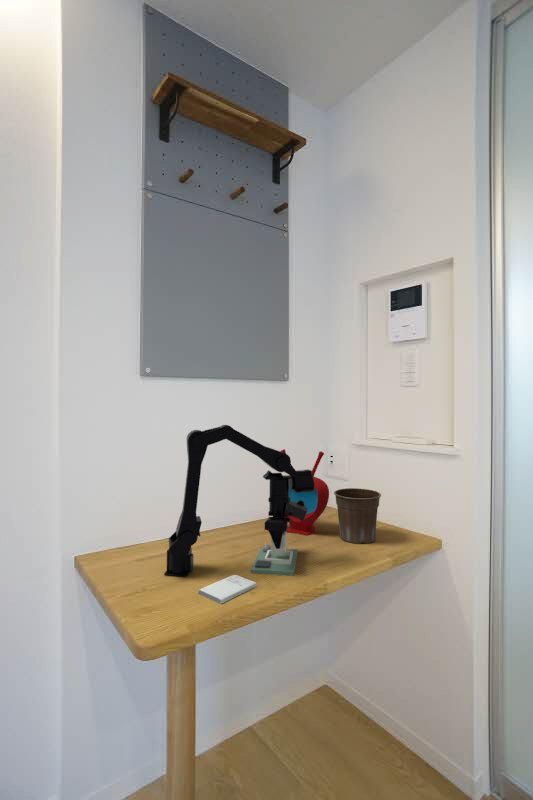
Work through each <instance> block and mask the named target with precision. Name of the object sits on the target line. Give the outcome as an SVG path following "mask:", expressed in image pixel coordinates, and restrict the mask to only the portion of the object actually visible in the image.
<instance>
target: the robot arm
mask: <svg viewBox="0 0 533 800" xmlns="http://www.w3.org/2000/svg"><path fill="white" fill-rule="evenodd" d="M225 440H227V441H229V442H231V443H232V444H235V446H238V447H240V448H242V449H243V450H246V451H247V452H249V453H251V454H252V455H255V456H256V457H258V458H259V459H261V461H262V462H263V463H264V464H266V465H267V467H269V468H271V469H273V470H274V471H276V472H272V471H270V470H267V471H266V473H265V474H263V475H262V479H265V480H266V481H267V480H268V481H269V497H268V503H269V507H268V508H269V509H268V510H269V511H268V515H267V516H268V517H267V518H266V519H265V520H264V521H265V522H264V530H265V531H268V533H269V535H270V538H272V540H273V542H274V545H275V547H276V549H280V545H281V540H282V534H283V532H284V531H287V528H288V527H289V526H288V523H289V521H290V518H286V517H289V516H293V517H295V518H298V519H299V520H301V521H304V519H305V516H306V513H307V510H308V508H307V507H306V506H304V501H302V500H299V501H298V502H292V501H290V497H289V488H290V490H292V491H293V492H294V493H303V492H313V490H314V481H313V476H312V469H301V470H300V469H299V470H296V469H295V468H294V466H293V465H292V464H291V463H292V462H291V461H292V459H291V457H290V455H289V454H287V453H286V454H285V453H283V452H281V450H278V449H277V450H276V449H275V448H272V447H268V446H265V445H263V444H261V443H259V442H258V441H256V440H254V439H252V438H250V436H247V435H245V434H243V433H242V432H240V431H238V430H236V429H235V428H233V427H232V426H230V425H227V424H222V425H221V426H218V427H214V428H209V429H208V428H207V429H206V430H205V429H204V430H201V429H200V430H199V429H194V430H191V431H190V432H189V433H188V434H187V435H186V451H187V452H186V453H187V454H186V455H187V468H186V469H187V470H186V479H185V488H184V497H183V503H182V504H183V505H182V510H181V513H180V516H179V517H178V521H177V523H176V524H177V525H176V528H175V531H174V532H173V534H171V536H169V538H168V549H167V550H166V570H165V572H163V573H164V576H173V577H174V576H176V577H187V576H188V575H189V574H190V573H191V571H193V569H194V553H192V550H193V548H192V546H193V545H194V544H196V543H197V541H198V538H199V537H201V532H200V531H201V527H202V523H203V521H202V519H201V516H199V515H197V509H198V508H197V506H198V498H199V489H200V481H201V480H200V479H201V473H202V472H201V471H202V464H203V461H204V459H205V455H206V453H207V450H208V446H210V445H213V444H217V443H219V442H222V441H225ZM282 473H285V475H283V474H282ZM286 474H287V475H286Z"/></svg>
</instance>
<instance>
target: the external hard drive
mask: <svg viewBox="0 0 533 800" xmlns="http://www.w3.org/2000/svg"><path fill="white" fill-rule="evenodd" d="M252 588H253V589H255V588H257V583H256V582H255V581H252V580H250V579H247V578H246V577H242V576H240V575H237V574H232V575H230V576H228V577H225V578H222V579H220V580H218V581H216V582H214V583H211V584H209V585H206V586H204V587H202V588H200V589H198V590H197V592H198V595H199V594H200V596H202V597H204V598H206V599H209V600H211V601H213V602H215V603H217V604H220V605H222V603H223V604H224V602H225V603H227V602H229V601H231V600H233V599H234V598H237V597H238V595H239V596H240V595H243V594H245V593H246V592H249V591H251V590H253V589H252ZM250 589H251V590H250ZM242 593H243V594H242ZM230 599H231V600H230ZM228 600H229V601H228ZM226 601H227V602H226Z"/></svg>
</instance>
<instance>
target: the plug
mask: <svg viewBox="0 0 533 800" xmlns="http://www.w3.org/2000/svg"><path fill="white" fill-rule="evenodd" d="M270 538H271V537H270ZM270 542H271V545H270V546H271V551H273V552H285V550H286V549H287V532H286V531H284V532H283V534H282V540H281V545H280V549H276V547H275V545H274V542H273V540H272V538H271V540H270Z"/></svg>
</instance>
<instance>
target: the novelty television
mask: <svg viewBox="0 0 533 800" xmlns="http://www.w3.org/2000/svg"><path fill="white" fill-rule="evenodd" d="M280 452H283V453H285V454H287V452H286V449H282V450H280ZM324 455H325V453H324V452H323V451H318V455H317V458H316V460H315V462H314V464H313V467H312V469H311V471H312V476H313V481H314V490H313V492H303V493H294V492H293V491H292V490H290V488H289V497H290V501H292V502H298V501H299V500H302V501H304V506H306V507H307V508H308V510H307V513H306V516H305V519H304V521H301V520H299V519H298V518H295V517H293V516H289V517H286V518H290V521H289V522H288V523H289V526H288V528H287V531H286V533H290V532H291V534H292V533H293V534H297V533H298V534H297V535H302V534H303V536H309V535H311V534H312V535H313V534H314V533H316V527H315V526H314V524H315V522H316V521H317V520H318V519H319V518H320V516H321V515H322V514H323V513H324V511H325V510H326V508H327V505H328V503H329V498H330V489H329V486H328V484H327V483H326V482H325V481H324V480H323V479H321V478H318V477H316V476H315V474H316V471H317V469H318V467H319V465H320V462H321V460H322V458H323V456H324Z"/></svg>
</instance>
